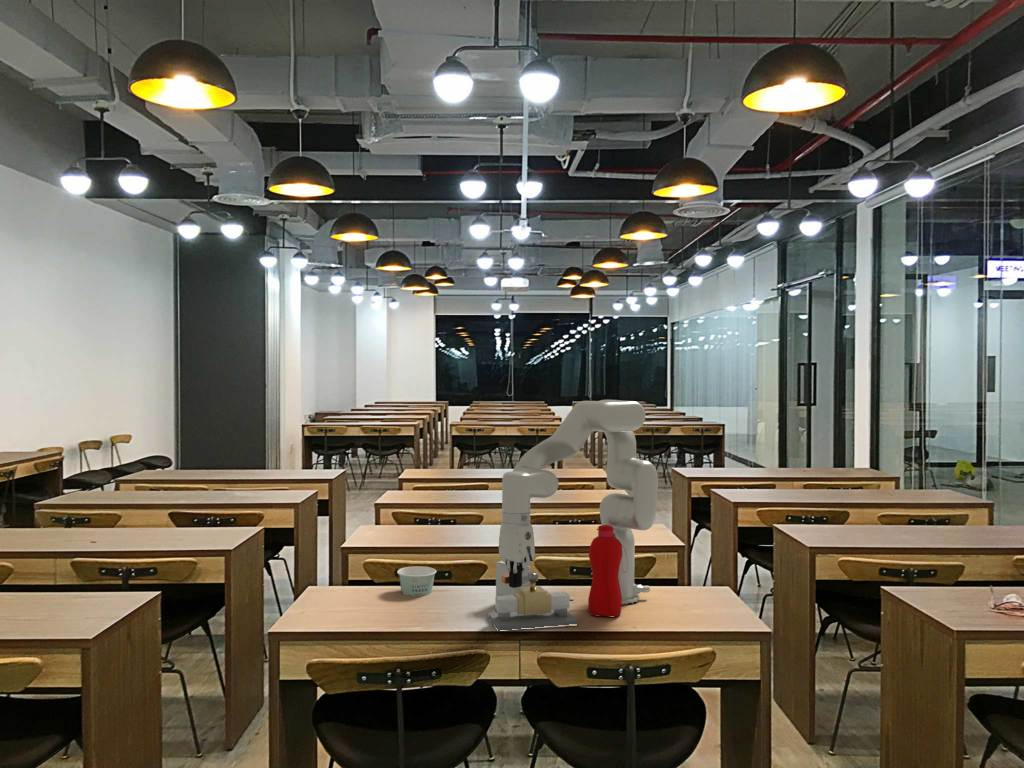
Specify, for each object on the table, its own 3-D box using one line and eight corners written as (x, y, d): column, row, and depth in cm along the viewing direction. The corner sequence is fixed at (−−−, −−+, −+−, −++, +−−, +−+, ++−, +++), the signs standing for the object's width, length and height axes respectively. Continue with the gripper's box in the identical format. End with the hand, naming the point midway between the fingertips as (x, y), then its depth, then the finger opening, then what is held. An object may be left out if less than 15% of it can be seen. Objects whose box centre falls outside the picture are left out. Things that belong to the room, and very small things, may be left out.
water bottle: (626, 619, 241) (627, 529, 240) (586, 617, 243) (587, 528, 243) (628, 610, 250) (629, 523, 249) (590, 607, 253) (591, 521, 252)
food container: (405, 599, 260) (405, 577, 260) (391, 589, 270) (391, 568, 270) (442, 594, 266) (442, 572, 265) (426, 585, 276) (426, 564, 276)
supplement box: (515, 609, 250) (515, 565, 250) (494, 604, 255) (495, 561, 254) (530, 603, 256) (530, 560, 256) (510, 599, 261) (510, 557, 260)
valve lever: (535, 578, 240) (535, 571, 240) (539, 580, 237) (539, 574, 237) (501, 581, 236) (501, 574, 236) (504, 584, 234) (504, 577, 234)
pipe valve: (564, 611, 244) (564, 576, 243) (570, 617, 238) (571, 581, 238) (494, 615, 239) (494, 580, 238) (499, 622, 233) (499, 586, 233)
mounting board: (564, 613, 247) (564, 608, 247) (577, 626, 235) (577, 620, 235) (488, 618, 242) (488, 613, 241) (498, 631, 230) (498, 626, 230)
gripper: (545, 520, 229) (544, 590, 230) (508, 512, 240) (508, 578, 241) (524, 524, 224) (523, 595, 225) (487, 515, 235) (486, 583, 236)
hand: (515, 586), depth 233 cm, fingers closed
